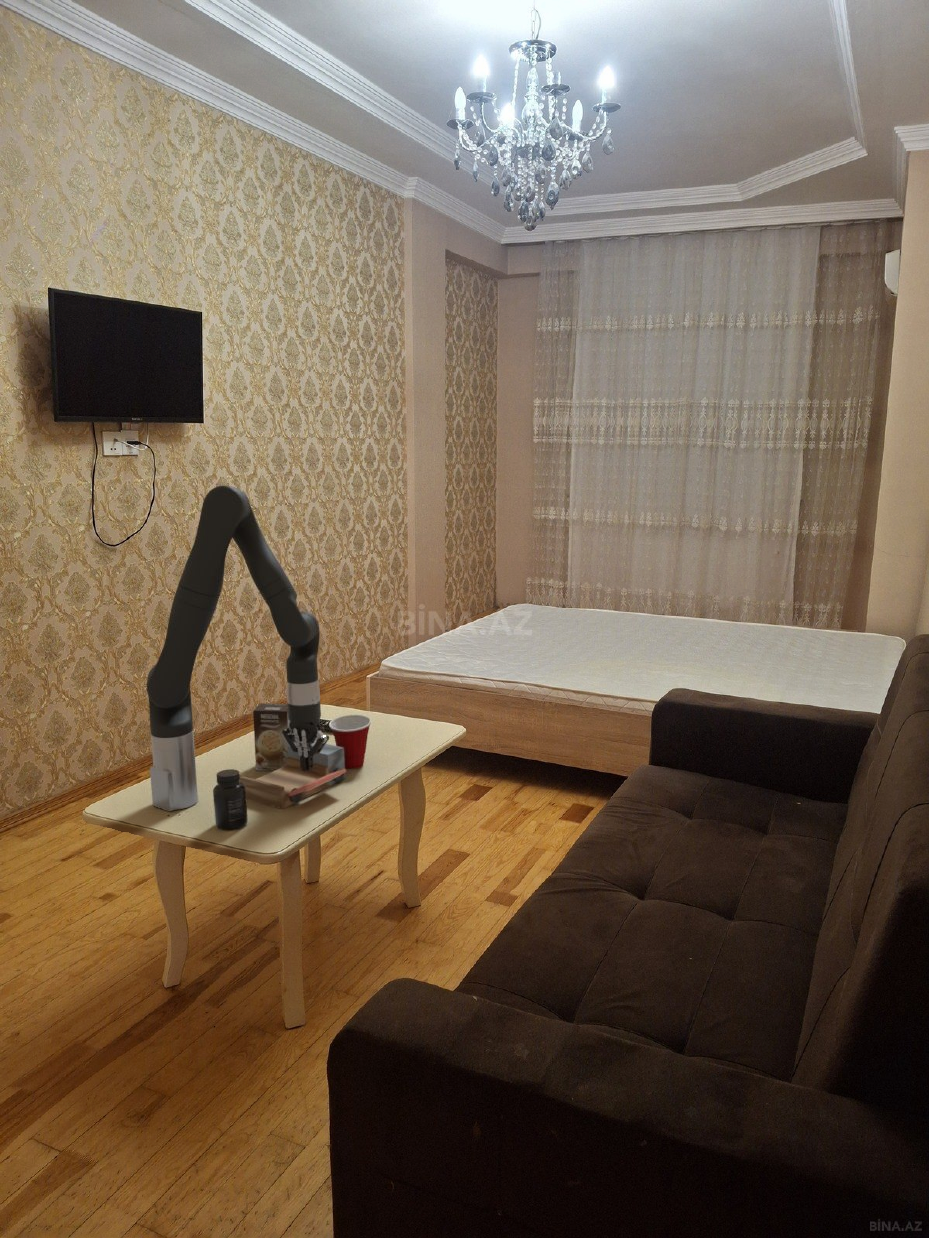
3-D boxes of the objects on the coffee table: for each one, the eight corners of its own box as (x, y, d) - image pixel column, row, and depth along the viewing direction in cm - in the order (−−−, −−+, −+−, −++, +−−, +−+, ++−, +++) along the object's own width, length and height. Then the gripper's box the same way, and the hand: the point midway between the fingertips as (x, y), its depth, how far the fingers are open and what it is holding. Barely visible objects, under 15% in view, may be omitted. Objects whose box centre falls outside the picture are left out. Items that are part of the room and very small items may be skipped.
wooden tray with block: (285, 809, 203) (283, 776, 202) (241, 797, 211) (239, 765, 209) (348, 779, 221) (347, 748, 220) (305, 768, 229) (304, 738, 227)
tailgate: (289, 797, 203) (307, 791, 200) (288, 792, 203) (305, 787, 200) (329, 778, 215) (346, 772, 211) (328, 774, 215) (345, 768, 211)
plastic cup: (321, 768, 229) (320, 723, 226) (347, 755, 238) (345, 712, 236) (356, 775, 224) (355, 729, 221) (381, 762, 233) (379, 717, 231)
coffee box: (254, 770, 228) (251, 710, 224) (262, 762, 234) (259, 702, 231) (289, 771, 227) (286, 711, 224) (297, 762, 233) (294, 703, 230)
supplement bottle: (250, 817, 199) (247, 766, 197) (244, 831, 192) (241, 778, 190) (219, 818, 199) (216, 767, 197) (212, 831, 192) (208, 779, 190)
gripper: (270, 699, 206) (275, 770, 209) (314, 707, 199) (318, 781, 202) (293, 691, 212) (297, 760, 216) (336, 699, 205) (339, 770, 209)
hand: (307, 770), depth 209 cm, fingers closed
